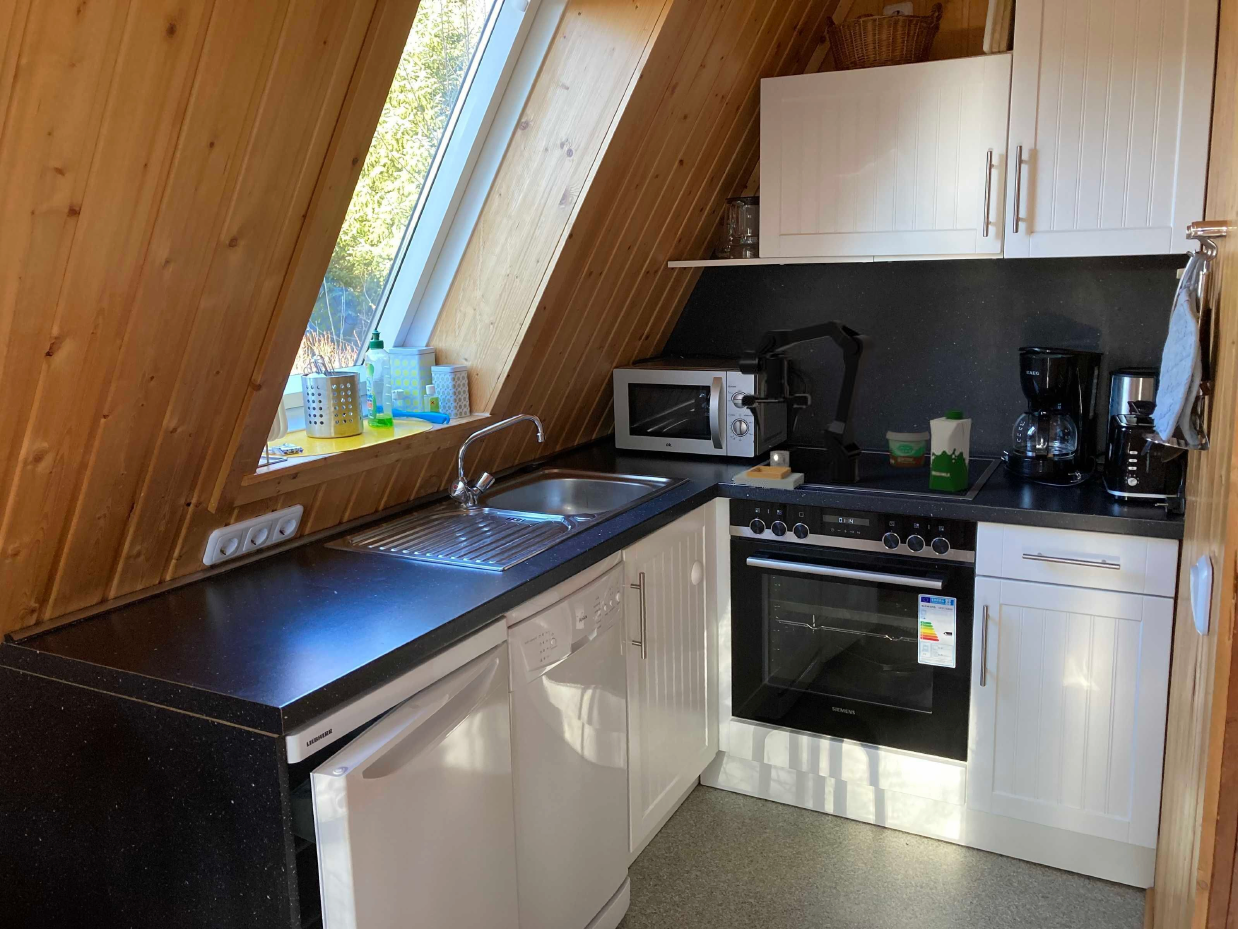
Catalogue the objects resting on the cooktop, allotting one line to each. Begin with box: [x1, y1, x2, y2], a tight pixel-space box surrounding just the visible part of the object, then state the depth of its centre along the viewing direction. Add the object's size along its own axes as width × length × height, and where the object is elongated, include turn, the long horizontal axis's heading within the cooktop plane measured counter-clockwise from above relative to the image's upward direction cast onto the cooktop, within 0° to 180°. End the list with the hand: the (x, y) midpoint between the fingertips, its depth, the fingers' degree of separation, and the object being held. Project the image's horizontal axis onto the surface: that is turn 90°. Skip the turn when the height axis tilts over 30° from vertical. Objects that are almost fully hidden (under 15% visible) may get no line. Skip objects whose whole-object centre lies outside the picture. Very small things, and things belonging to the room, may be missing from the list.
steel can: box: [769, 450, 790, 468], centre depth 286 cm, size 5×5×6 cm
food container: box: [885, 430, 930, 468], centre depth 291 cm, size 12×6×10 cm, turn 80°
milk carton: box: [928, 409, 972, 493], centre depth 258 cm, size 9×9×20 cm
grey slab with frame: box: [733, 465, 805, 491], centre depth 270 cm, size 16×10×4 cm, turn 65°
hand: (776, 430), depth 284 cm, fingers open, 9 cm apart
